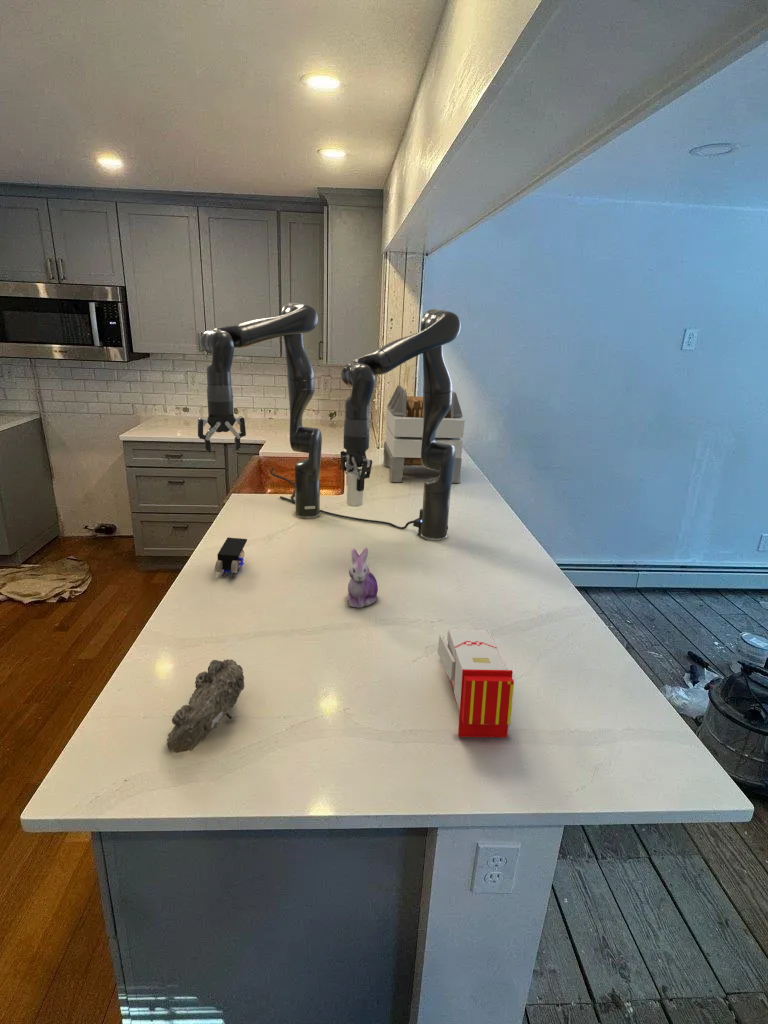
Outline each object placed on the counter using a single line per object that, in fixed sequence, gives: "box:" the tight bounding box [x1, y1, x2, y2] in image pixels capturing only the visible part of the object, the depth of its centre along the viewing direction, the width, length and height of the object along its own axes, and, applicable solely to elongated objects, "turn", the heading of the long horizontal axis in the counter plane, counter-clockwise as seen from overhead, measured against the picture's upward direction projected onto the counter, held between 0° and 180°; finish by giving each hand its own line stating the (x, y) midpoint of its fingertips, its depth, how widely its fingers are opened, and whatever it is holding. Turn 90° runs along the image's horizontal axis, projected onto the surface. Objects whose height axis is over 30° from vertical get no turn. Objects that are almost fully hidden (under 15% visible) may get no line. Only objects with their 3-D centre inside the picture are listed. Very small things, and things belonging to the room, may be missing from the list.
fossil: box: [166, 658, 245, 754], centre depth 106 cm, size 22×10×15 cm
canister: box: [346, 471, 364, 508], centre depth 172 cm, size 5×5×10 cm
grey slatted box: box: [383, 384, 465, 484], centre depth 268 cm, size 34×33×41 cm
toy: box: [437, 628, 515, 738], centre depth 117 cm, size 12×13×30 cm
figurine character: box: [214, 537, 248, 578], centre depth 166 cm, size 7×8×15 cm
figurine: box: [346, 546, 379, 609], centre depth 151 cm, size 9×10×15 cm
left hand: (223, 450), depth 178 cm, fingers open, 8 cm apart
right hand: (355, 488), depth 172 cm, fingers closed on canister, 5 cm apart
